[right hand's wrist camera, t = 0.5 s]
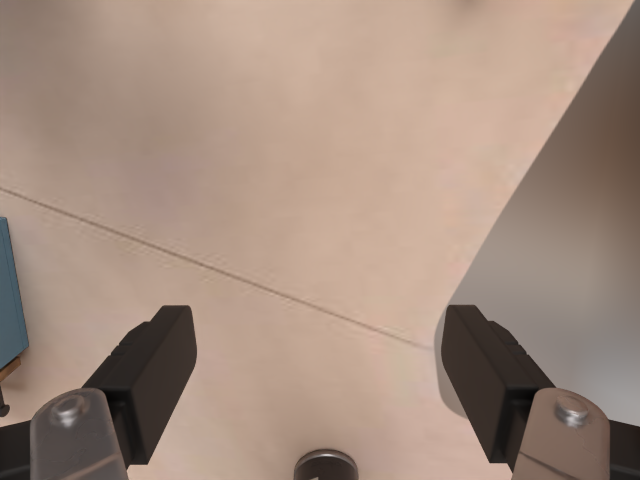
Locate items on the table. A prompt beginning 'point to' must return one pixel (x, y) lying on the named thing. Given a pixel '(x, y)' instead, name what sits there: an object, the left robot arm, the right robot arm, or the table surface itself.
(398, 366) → the table surface
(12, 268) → the cabinet
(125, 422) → the right robot arm
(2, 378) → the drawer
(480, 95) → the table surface
